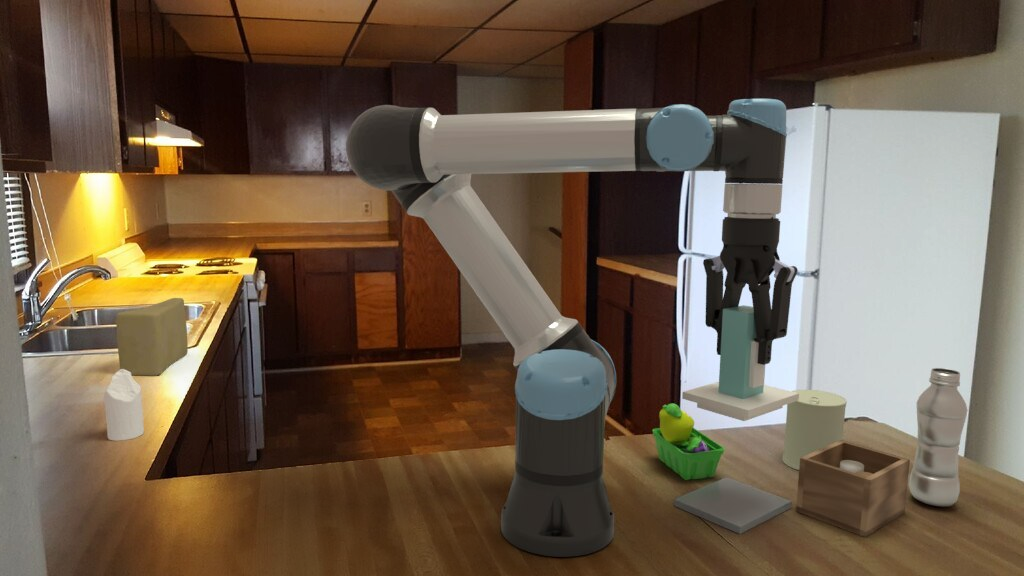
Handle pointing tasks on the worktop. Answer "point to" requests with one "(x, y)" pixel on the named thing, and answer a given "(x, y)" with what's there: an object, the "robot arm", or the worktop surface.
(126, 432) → the white upright rounded piece
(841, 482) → the box
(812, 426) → the can
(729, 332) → the lid
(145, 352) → the cheese
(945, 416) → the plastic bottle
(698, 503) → the plate
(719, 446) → the fruit basket
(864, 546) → the worktop surface
